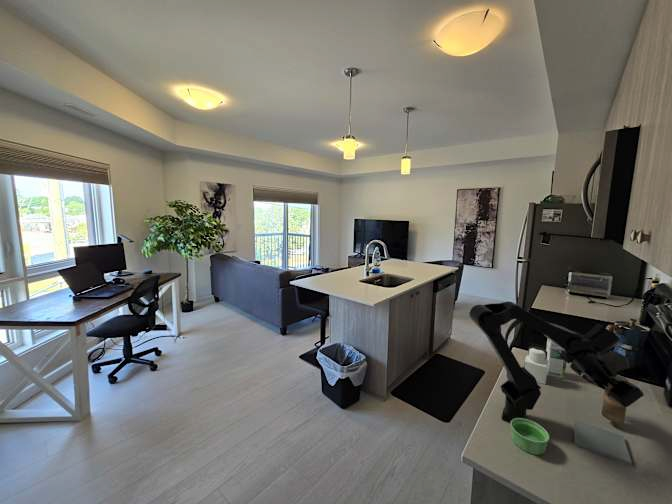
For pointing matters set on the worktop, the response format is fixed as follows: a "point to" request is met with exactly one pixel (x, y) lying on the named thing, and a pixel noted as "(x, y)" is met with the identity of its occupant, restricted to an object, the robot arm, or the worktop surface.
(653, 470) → the worktop surface
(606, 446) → the slate trivet
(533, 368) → the medicine bottle
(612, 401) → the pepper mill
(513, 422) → the ramekin
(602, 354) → the robot arm
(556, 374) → the syrup box
